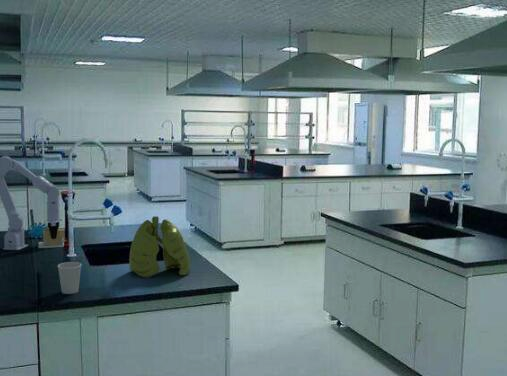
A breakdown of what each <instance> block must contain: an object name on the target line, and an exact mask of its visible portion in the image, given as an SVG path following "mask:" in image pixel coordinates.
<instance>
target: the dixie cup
mask: <svg viewBox="0 0 507 376" xmlns="http://www.w3.org/2000/svg"><path fill="white" fill-rule="evenodd" d="M57 268H58V269H57V270H58V276H59V282H60V288H61V293H62V294H63V295H65V294H66V295H72V294H76V293H79V288H80V287H79V286H80V280H81V279H80V278H81V270H82V263H81V262H78V261H77V262H76V261H68V262H67V261H66V262H62V263H59V264H58V265H57Z"/></svg>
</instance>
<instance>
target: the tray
mask: <svg viewBox="0 0 507 376" xmlns="http://www.w3.org/2000/svg"><path fill="white" fill-rule="evenodd" d="M49 248H51V249H52V248H65V247H64V242H63V238H61V243H47V239H44V243H43V241H39V242H38V248H37V249H49Z"/></svg>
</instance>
